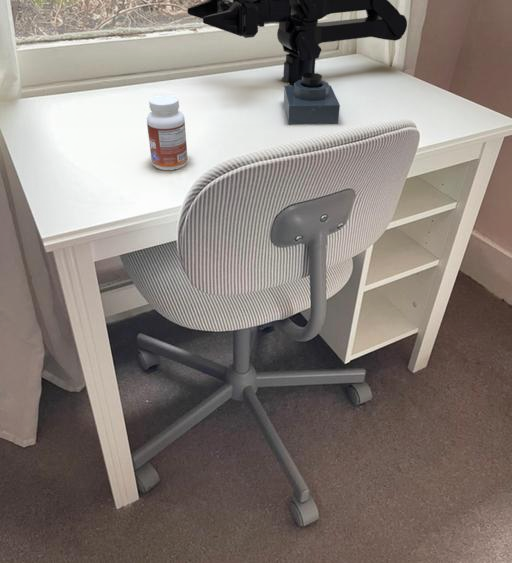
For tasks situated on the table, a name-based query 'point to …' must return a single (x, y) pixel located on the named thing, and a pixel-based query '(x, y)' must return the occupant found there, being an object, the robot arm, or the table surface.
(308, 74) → the black round button
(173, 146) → the pill bottle
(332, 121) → the push button box
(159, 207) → the table surface
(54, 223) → the table surface
